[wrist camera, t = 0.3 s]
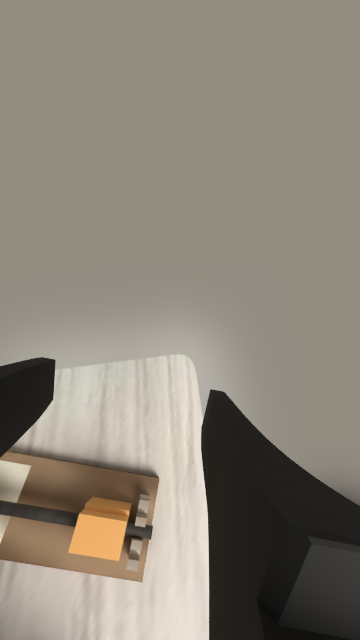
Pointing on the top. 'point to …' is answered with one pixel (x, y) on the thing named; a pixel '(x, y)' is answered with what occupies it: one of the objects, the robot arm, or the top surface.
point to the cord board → (69, 513)
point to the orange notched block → (101, 529)
